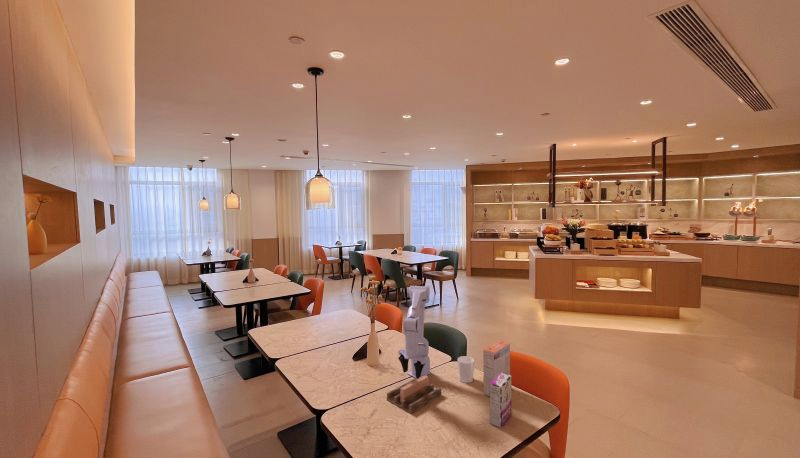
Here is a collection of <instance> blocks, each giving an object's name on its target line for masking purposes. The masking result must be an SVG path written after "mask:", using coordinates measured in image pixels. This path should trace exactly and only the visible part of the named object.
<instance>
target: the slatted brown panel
mask: <svg viewBox="0 0 800 458" xmlns="http://www.w3.org/2000/svg"><path fill="white" fill-rule="evenodd" d="M417 379H419V378H415V377H414V378H413V379H411V380H409V381H407V382H405V383H404V384H402V385H400V386H398V387H396V388H394V389H392V390H389V391H388V392H386V401H388V402H389V403H391V404H393V405H395V406H396V407H398V408H399V409H402V410H404V411H406V412H407V413H409V414H413V413H414V412H416V411H417V410H419V409H422V408H423V407H424V406H425V405H427V404H429V403H430V402H432V401H434V400H435V399H437V398H439V397H440V396H442V387H441V386H439V387H437V388H436V389H435V384H434V383H431V384H428V386H427V387H425V388H423V389H422V390H420V391H418V392H416V393H414V394H413V395H411V396H409V397H407V398H406V399H404V400H402V401H401V402H400V388H402V387H404V386H406V385H407V384H409V383H411V382H413V381H415V380H417Z"/></svg>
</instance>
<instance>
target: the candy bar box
mask: <svg viewBox="0 0 800 458" xmlns="http://www.w3.org/2000/svg"><path fill="white" fill-rule="evenodd" d="M511 416H512V375H511V374H510V375H507V374H504V373H500V374H499V375H498V376H497V377H496V378H495V379H494V380H493V381H492V382H491V383H490V397H489V424H490V425H491V426H495V427H497V428H500V429H502V428H503V427H504V425H505V424H506V423H507V421H508V419H509V418H510V417H511Z"/></svg>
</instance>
